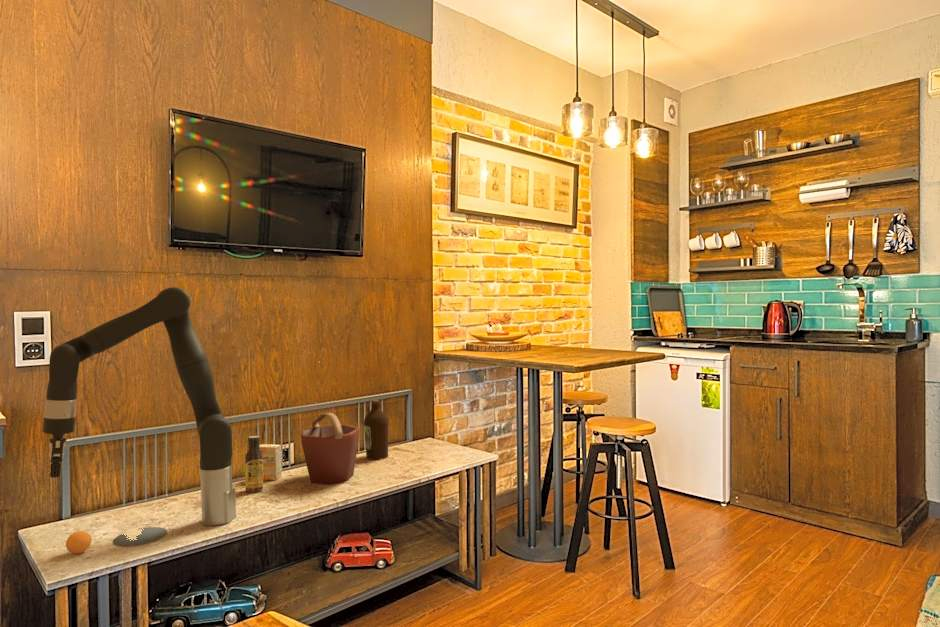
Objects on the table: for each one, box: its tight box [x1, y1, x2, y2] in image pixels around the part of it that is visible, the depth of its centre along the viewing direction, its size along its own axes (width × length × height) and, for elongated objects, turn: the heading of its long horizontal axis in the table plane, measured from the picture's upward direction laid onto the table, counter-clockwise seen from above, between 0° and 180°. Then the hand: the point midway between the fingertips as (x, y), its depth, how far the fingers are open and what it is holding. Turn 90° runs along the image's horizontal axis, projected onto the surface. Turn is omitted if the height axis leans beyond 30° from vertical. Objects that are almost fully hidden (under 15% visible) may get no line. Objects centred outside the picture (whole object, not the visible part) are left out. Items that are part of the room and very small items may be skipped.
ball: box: [65, 530, 92, 555], centre depth 168 cm, size 6×6×6 cm
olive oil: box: [363, 399, 389, 461], centre depth 263 cm, size 11×11×25 cm
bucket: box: [300, 412, 360, 486], centre depth 234 cm, size 24×22×25 cm
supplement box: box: [259, 443, 283, 481], centre depth 235 cm, size 8×5×13 cm, turn 81°
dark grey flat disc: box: [112, 526, 168, 547], centre depth 179 cm, size 14×14×1 cm
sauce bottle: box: [244, 435, 264, 493], centre depth 220 cm, size 7×6×20 cm
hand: (54, 473), depth 168 cm, fingers open, 8 cm apart
